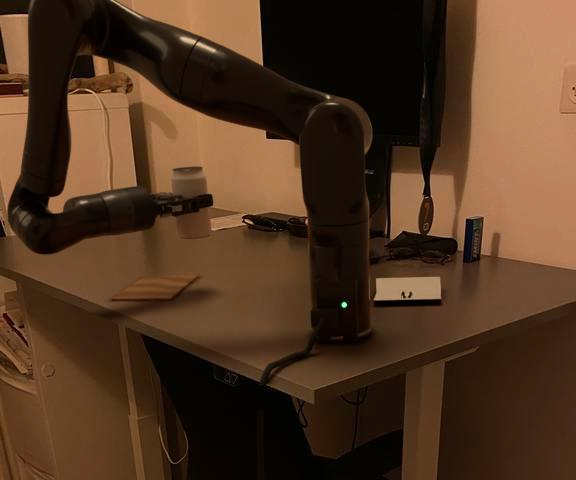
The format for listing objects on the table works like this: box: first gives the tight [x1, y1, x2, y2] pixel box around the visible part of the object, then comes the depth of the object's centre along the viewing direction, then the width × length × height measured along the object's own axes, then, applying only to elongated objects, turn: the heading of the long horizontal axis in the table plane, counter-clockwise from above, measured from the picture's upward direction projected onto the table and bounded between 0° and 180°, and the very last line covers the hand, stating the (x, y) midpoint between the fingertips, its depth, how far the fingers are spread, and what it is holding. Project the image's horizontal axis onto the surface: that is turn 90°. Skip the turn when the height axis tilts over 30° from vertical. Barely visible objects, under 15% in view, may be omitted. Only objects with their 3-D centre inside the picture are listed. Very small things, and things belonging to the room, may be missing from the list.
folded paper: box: [373, 276, 442, 301], centre depth 143 cm, size 12×12×2 cm
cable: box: [369, 248, 420, 264], centre depth 169 cm, size 14×28×2 cm, turn 126°
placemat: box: [111, 274, 199, 302], centre depth 160 cm, size 18×12×1 cm, turn 169°
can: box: [170, 165, 213, 240], centre depth 148 cm, size 6×6×12 cm
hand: (201, 198), depth 149 cm, fingers closed on can, 6 cm apart
